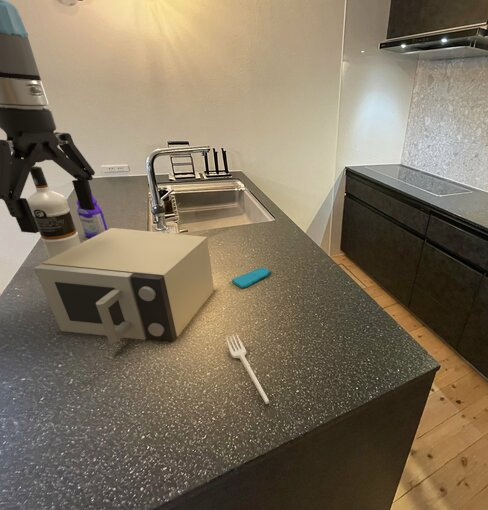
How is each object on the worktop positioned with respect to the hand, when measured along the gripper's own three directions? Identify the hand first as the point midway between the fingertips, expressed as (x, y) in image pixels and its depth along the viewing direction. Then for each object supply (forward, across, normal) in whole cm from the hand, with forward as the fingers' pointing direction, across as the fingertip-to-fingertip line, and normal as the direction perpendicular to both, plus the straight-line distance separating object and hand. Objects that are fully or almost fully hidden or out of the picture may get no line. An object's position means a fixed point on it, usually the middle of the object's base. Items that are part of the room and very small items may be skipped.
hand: (62, 219), depth 64 cm
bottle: (+26, +43, +34) cm, 60 cm away
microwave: (+25, +5, -10) cm, 28 cm away
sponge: (+26, +24, -32) cm, 47 cm away
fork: (+26, -11, -42) cm, 50 cm away
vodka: (+26, +22, +26) cm, 42 cm away
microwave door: (+25, -8, -6) cm, 27 cm away
